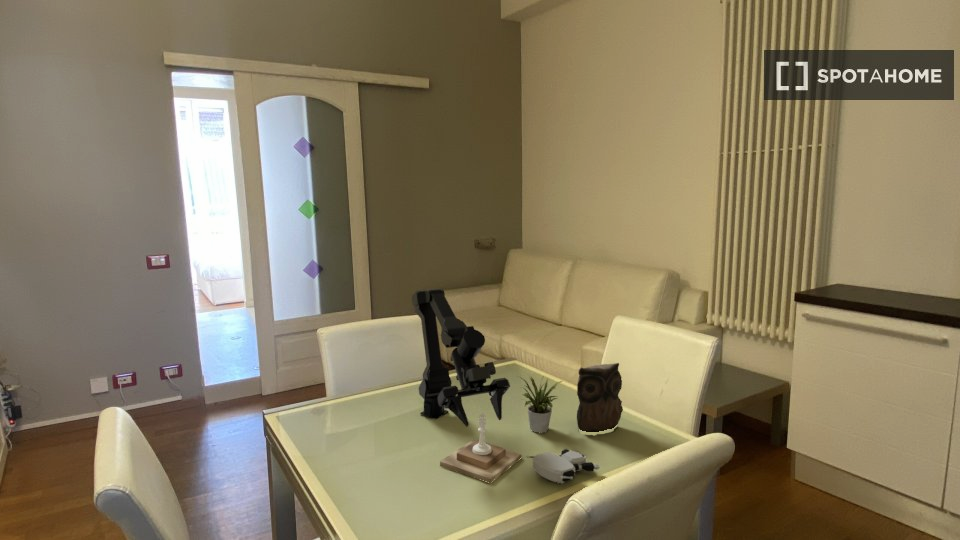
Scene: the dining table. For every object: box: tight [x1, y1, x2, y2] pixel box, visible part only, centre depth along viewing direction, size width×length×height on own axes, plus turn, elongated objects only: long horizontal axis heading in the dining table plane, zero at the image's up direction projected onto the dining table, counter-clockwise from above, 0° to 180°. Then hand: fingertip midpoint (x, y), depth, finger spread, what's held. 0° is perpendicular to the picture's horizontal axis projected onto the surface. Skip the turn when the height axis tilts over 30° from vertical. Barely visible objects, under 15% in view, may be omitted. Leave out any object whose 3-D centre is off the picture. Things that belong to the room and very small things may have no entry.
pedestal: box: [439, 438, 523, 484], centre depth 133 cm, size 15×15×3 cm
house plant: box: [516, 375, 563, 434], centre depth 152 cm, size 14×14×16 cm
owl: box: [576, 362, 624, 432], centre depth 151 cm, size 13×13×20 cm
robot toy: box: [525, 448, 600, 484], centre depth 128 cm, size 12×4×15 cm
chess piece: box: [472, 412, 492, 455], centre depth 132 cm, size 5×5×10 cm
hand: (484, 422), depth 130 cm, fingers open, 9 cm apart
